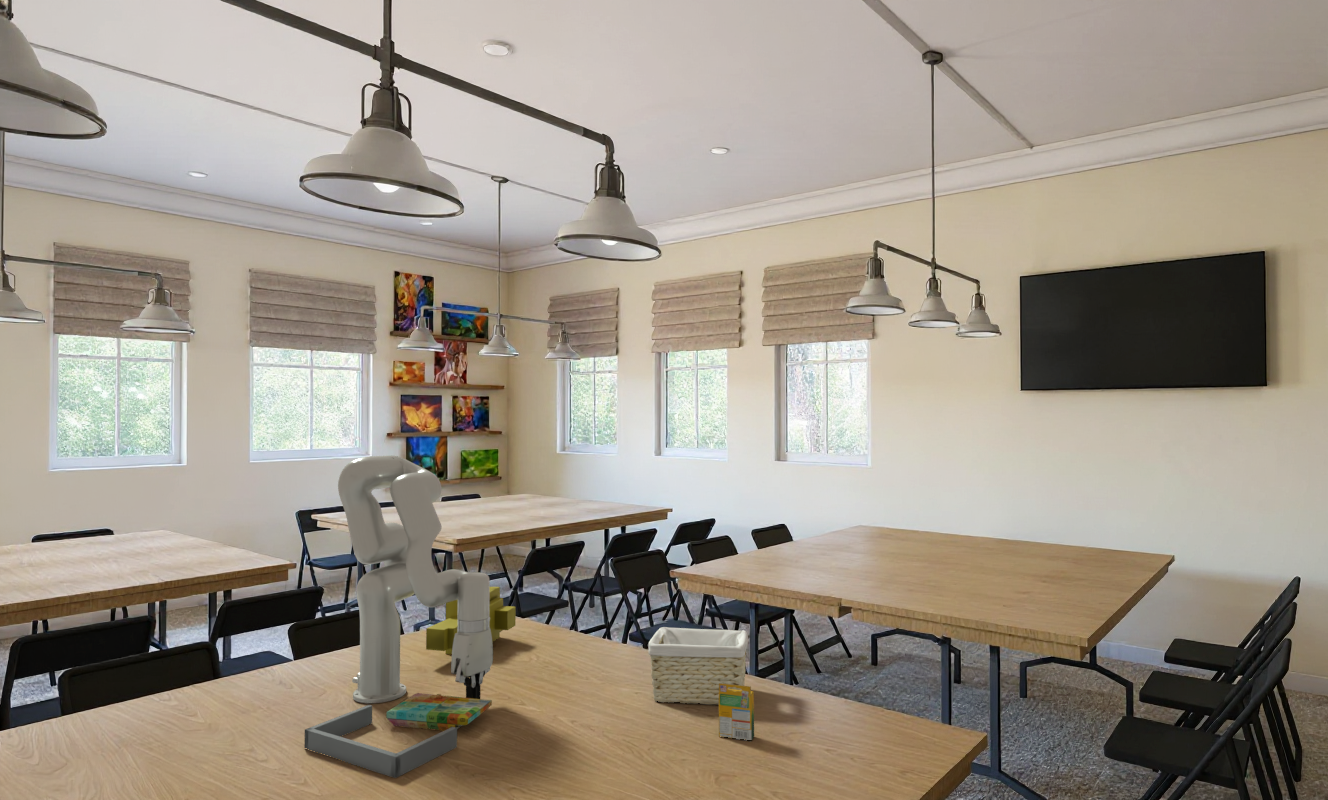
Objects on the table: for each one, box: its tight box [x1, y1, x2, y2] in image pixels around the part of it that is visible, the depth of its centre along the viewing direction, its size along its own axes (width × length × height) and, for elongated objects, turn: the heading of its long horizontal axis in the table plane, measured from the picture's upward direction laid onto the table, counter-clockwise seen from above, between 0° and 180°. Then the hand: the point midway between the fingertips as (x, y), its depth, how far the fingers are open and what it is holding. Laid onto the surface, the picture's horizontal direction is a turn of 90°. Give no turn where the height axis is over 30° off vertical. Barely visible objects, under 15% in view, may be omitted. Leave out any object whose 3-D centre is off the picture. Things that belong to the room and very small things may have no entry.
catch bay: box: [303, 704, 458, 779], centre depth 160 cm, size 27×16×4 cm, turn 60°
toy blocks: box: [425, 586, 517, 655], centre depth 229 cm, size 35×16×16 cm
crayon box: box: [718, 683, 755, 741], centre depth 165 cm, size 7×3×12 cm, turn 71°
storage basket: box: [647, 626, 749, 706], centre depth 192 cm, size 24×16×15 cm
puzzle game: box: [385, 692, 493, 732], centre depth 175 cm, size 12×5×20 cm
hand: (473, 701), depth 184 cm, fingers closed
